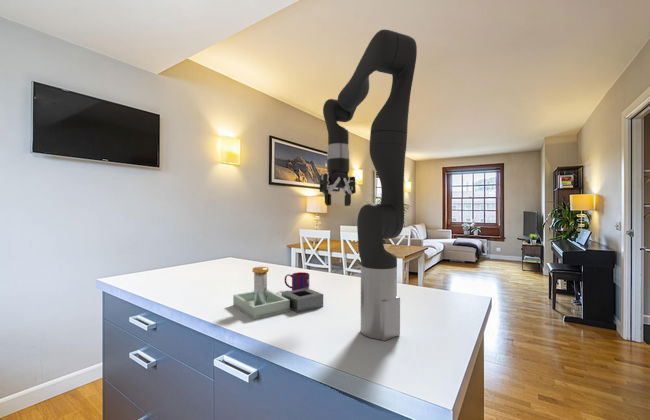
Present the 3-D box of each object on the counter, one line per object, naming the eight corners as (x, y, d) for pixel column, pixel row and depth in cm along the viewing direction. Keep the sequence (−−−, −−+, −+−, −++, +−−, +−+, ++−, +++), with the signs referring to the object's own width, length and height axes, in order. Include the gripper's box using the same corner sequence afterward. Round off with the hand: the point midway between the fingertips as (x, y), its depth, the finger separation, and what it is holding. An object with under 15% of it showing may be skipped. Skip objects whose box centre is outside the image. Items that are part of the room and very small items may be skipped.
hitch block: (323, 306, 98) (323, 294, 98) (297, 312, 92) (297, 299, 92) (306, 299, 106) (306, 287, 106) (281, 304, 100) (281, 292, 100)
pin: (271, 305, 96) (271, 268, 96) (256, 309, 93) (256, 270, 93) (264, 302, 100) (264, 266, 100) (249, 304, 97) (250, 267, 97)
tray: (289, 310, 94) (289, 300, 94) (253, 319, 86) (253, 307, 86) (266, 298, 106) (266, 289, 106) (233, 305, 99) (233, 294, 99)
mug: (304, 294, 111) (304, 276, 111) (281, 291, 116) (281, 274, 116) (312, 290, 118) (312, 273, 118) (290, 287, 122) (290, 270, 122)
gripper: (328, 154, 96) (328, 205, 96) (360, 159, 104) (360, 205, 104) (315, 157, 102) (314, 205, 102) (346, 162, 110) (346, 206, 110)
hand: (338, 205), depth 103 cm, fingers open, 8 cm apart
